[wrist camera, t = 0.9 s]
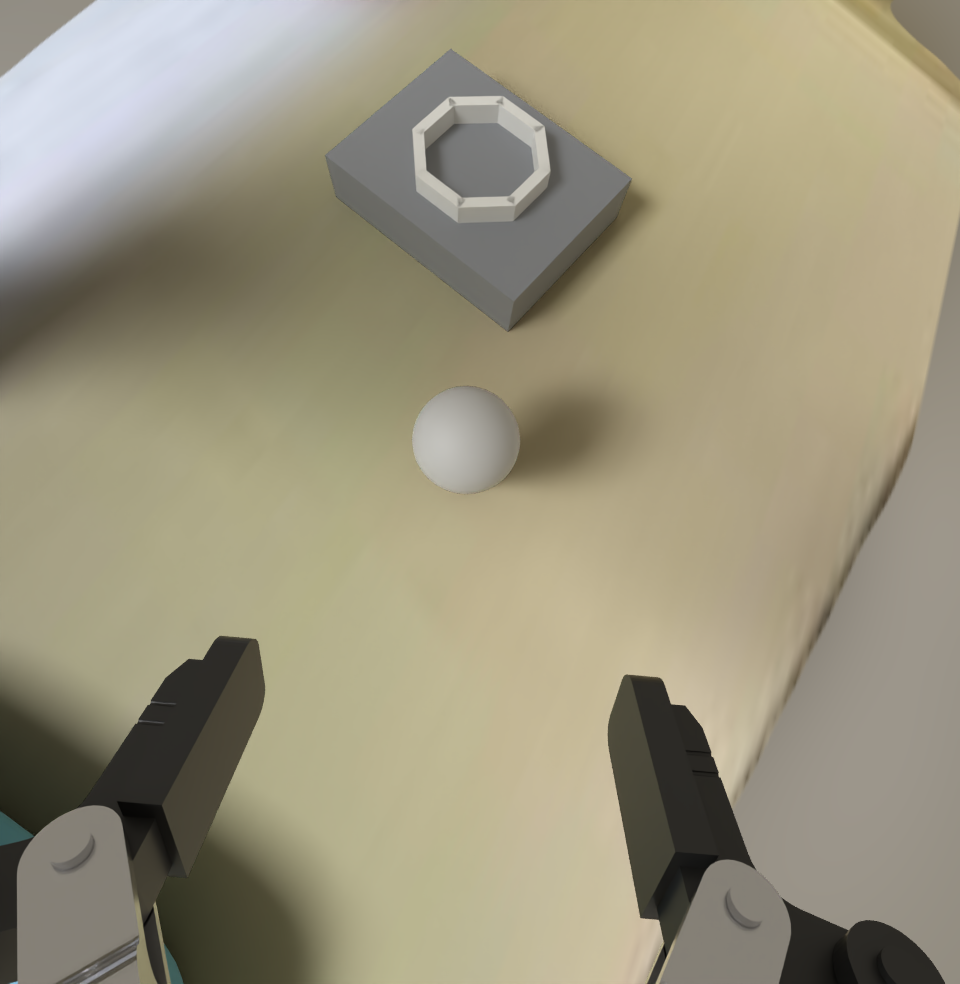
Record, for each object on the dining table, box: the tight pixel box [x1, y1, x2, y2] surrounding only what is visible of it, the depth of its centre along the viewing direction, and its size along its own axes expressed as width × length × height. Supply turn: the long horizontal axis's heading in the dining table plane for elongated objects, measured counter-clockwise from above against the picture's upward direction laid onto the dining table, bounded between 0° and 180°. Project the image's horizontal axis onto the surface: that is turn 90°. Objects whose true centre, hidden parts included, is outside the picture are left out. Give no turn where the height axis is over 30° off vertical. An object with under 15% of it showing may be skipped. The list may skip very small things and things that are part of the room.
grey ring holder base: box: [325, 49, 632, 331], centre depth 42 cm, size 18×14×6 cm
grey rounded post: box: [412, 386, 520, 494], centre depth 34 cm, size 6×6×11 cm
